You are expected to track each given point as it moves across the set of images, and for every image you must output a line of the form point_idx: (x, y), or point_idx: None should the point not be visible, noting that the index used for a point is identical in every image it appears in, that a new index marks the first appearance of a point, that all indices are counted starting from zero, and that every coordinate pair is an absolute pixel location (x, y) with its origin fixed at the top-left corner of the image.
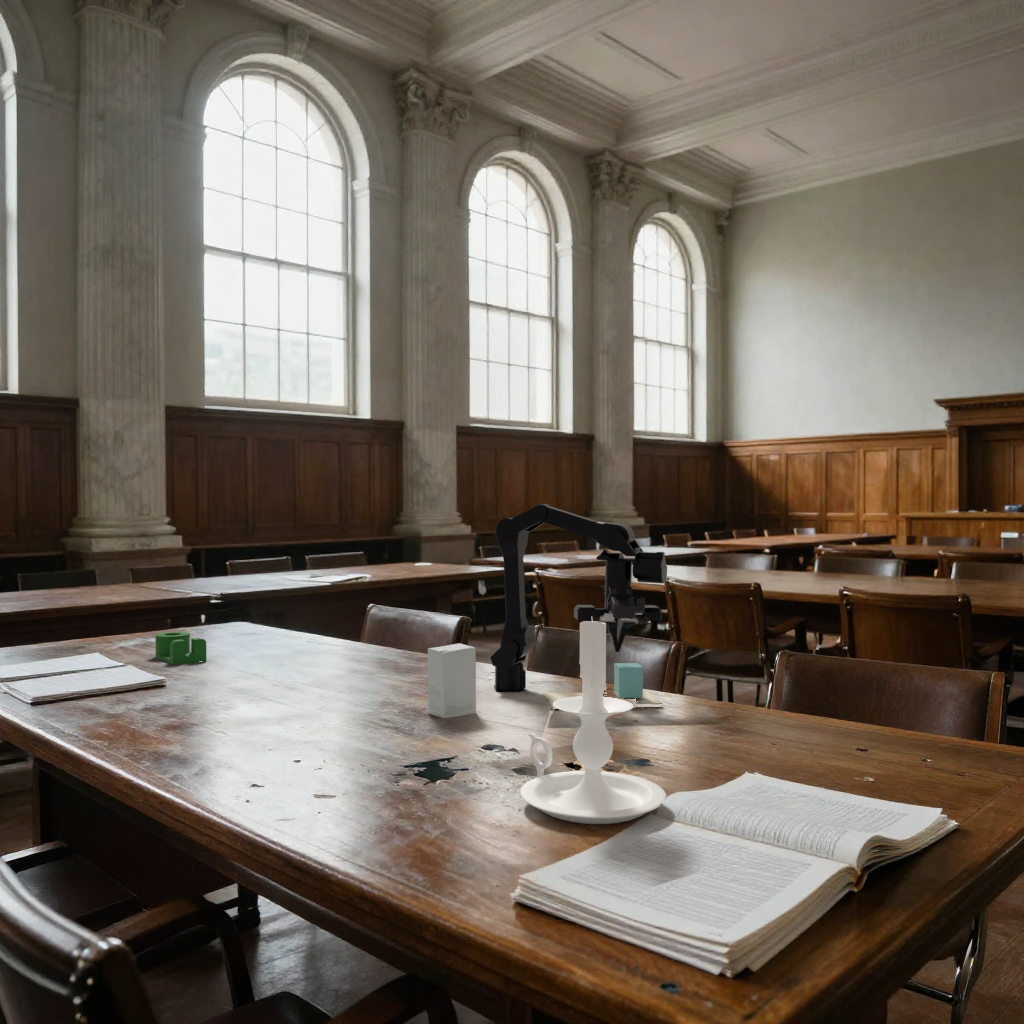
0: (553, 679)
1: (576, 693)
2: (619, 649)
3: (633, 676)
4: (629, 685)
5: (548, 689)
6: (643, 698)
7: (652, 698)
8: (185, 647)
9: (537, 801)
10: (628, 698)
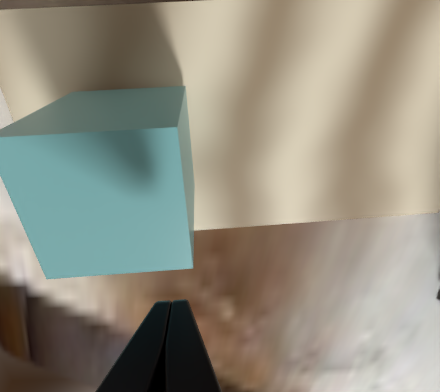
0: (314, 382)
1: (326, 209)
2: (151, 316)
3: (85, 114)
4: (124, 101)
5: (365, 299)
6: None
7: None
8: None
9: None
10: None
